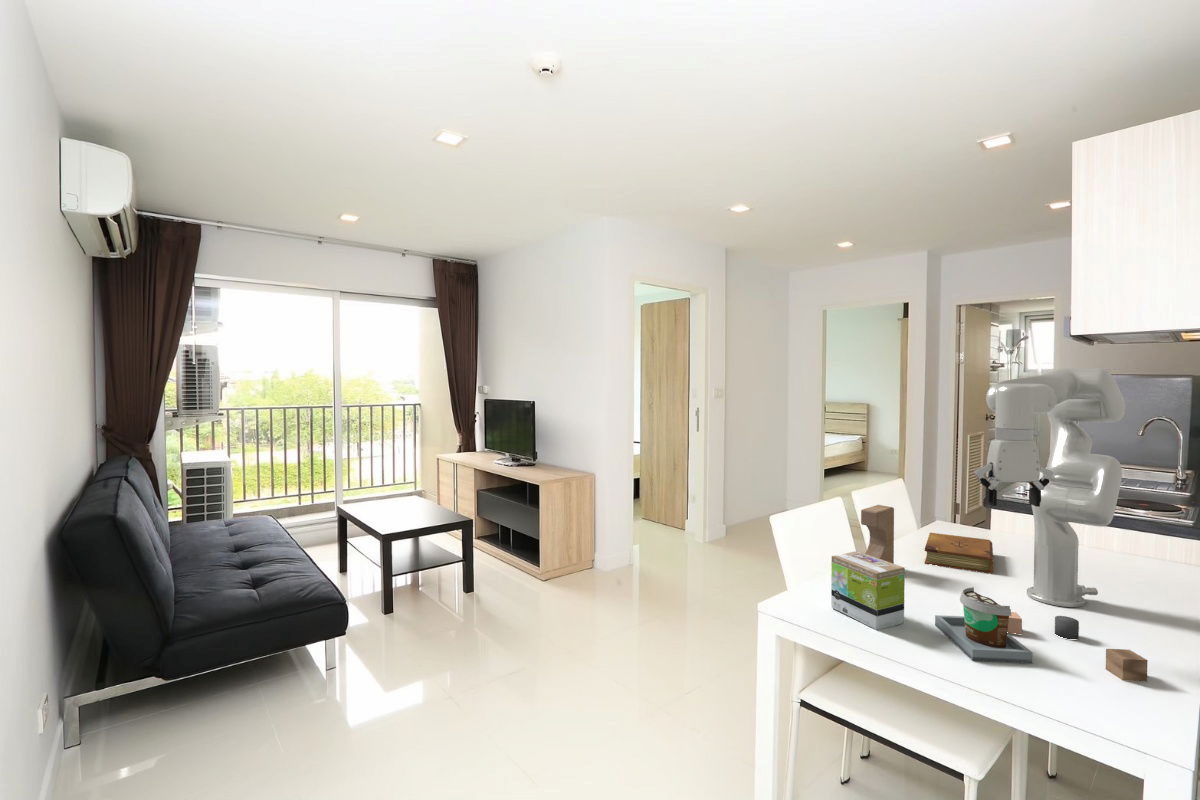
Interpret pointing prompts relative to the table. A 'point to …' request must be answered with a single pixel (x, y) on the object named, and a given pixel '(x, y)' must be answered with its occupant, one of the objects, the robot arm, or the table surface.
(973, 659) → the tray
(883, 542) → the decorative block
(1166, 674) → the table surface
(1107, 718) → the table surface
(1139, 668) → the walnut cube
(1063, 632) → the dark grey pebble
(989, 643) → the food container
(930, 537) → the diary
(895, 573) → the tea box
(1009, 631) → the terracotta block
